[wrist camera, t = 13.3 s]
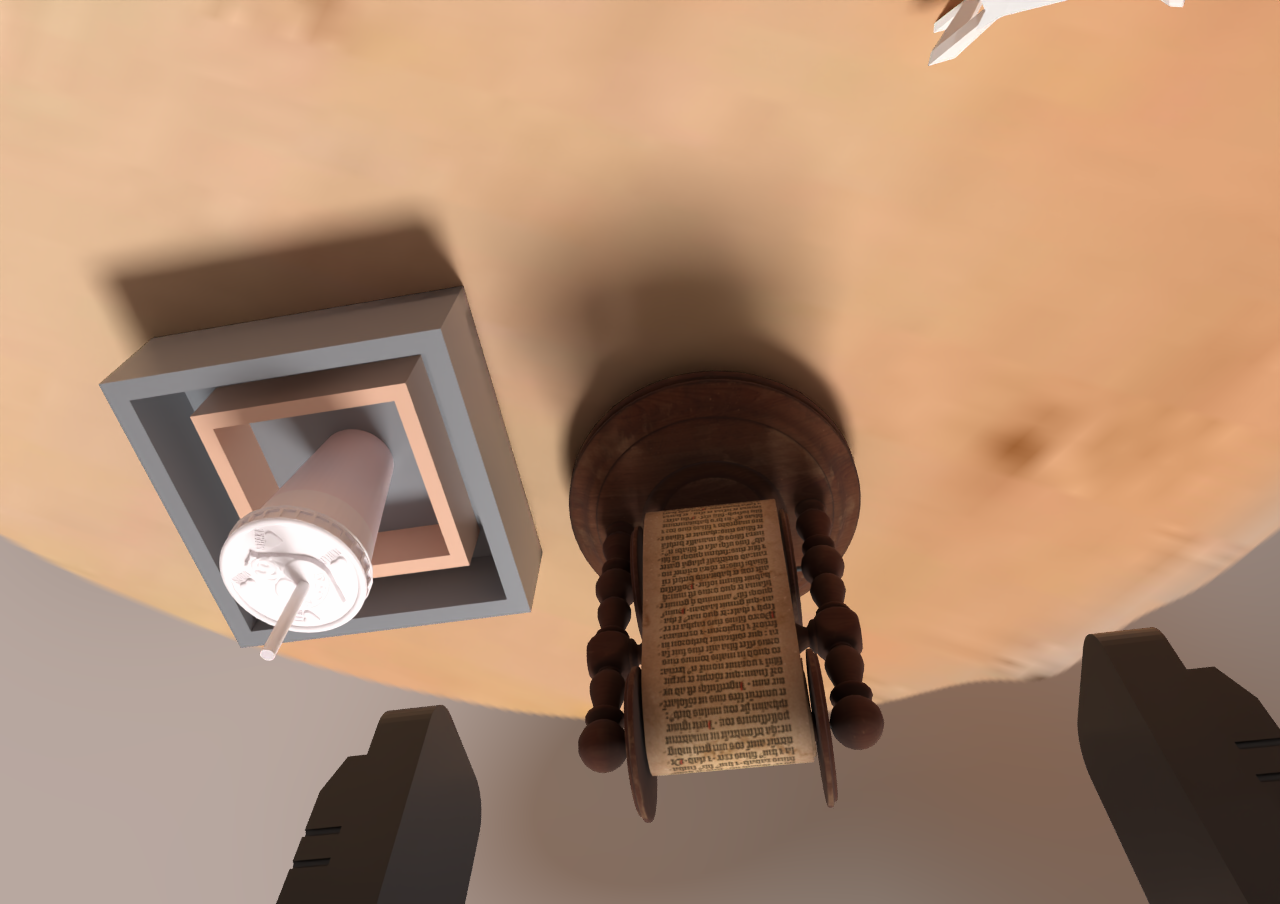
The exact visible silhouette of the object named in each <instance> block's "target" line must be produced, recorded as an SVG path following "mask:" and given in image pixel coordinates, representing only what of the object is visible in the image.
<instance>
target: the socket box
mask: <svg viewBox="0 0 1280 904" xmlns="http://www.w3.org/2000/svg"><path fill="white" fill-rule="evenodd" d="M99 386H100V388H101V390H102V392H103V393H104V395H105V397H106V399H107V401H108V403H109V404H110V406H111V408H112V410H113V412H114V414H115V416H116V417H117V419H118V421H119V423H120V425H121V427H122V429H123V430H124V432H125V434H126V436H127V438H128V440H129V442H130V443H131V445H132V447H133V449H134V451H135V453H136V455H137V456H138V458H139V460H140V462H141V464H142V466H143V467H144V469H145V471H146V473H147V475H148V477H149V479H150V480H151V482H152V484H153V486H154V488H155V490H156V492H157V493H158V495H159V497H160V499H161V501H162V503H163V505H164V506H165V508H166V510H167V512H168V514H169V516H170V518H171V519H172V521H173V523H174V525H175V527H176V529H177V530H178V532H179V534H180V536H181V538H182V540H183V542H184V543H185V545H186V547H187V549H188V551H189V553H190V555H191V556H192V558H193V560H194V562H195V564H196V566H197V568H198V569H199V571H200V573H201V575H202V577H203V579H204V581H205V582H206V584H207V586H208V588H209V590H210V592H211V593H212V595H213V597H214V599H215V601H216V603H217V605H218V606H219V608H220V610H221V612H222V614H223V616H224V618H225V619H226V621H227V623H228V625H229V627H230V629H231V631H232V632H233V634H234V636H235V638H236V640H237V642H238V644H239V645H240V647H241V648H243V647H252V646H260V645H265V643H266V641H267V640H268V638H269V636H270V634H271V632H272V630H273V628H274V627H275V626H272V625H270V624H267V623H266V622H264V621H262V620H260V619H258V618H256V617H255V616H253V615H252V614H250V613H249V612H248V611H246V610H245V609H244V608H243V607H242V606H240V605H239V604H238V603H237V602H236V601H235V599H234V598H233V597H232V596H231V594H230V593H229V591H228V590H227V588H226V586H225V584H224V582H223V579H222V576H221V572H220V564H219V561H220V554H221V550H222V547H223V545H224V543H225V541H226V540H227V538H228V535H229V533H230V531H231V530H232V529H233V527H234V526H235V524H236V523H237V522H238V521H239V520H240V519H242V518H243V517H244V516H246V515H247V514H249V513H250V512H252V511H255V510H258V509H261V507H262V506H263V505H264V504H265V503H266V502H267V501H268V500H270V498H271V497H272V496H273V495H274V494H275V493H276V492H277V491H278V490H279V489H280V488H281V487H282V486H283V485H284V484H285V483H286V482H287V481H288V480H289V479H290V478H291V477H292V476H293V475H294V474H295V473H296V471H297V470H298V469H299V468H300V467H301V466H302V465H303V464H304V463H305V462H306V461H307V460H308V459H309V458H310V457H311V456H312V455H313V454H314V453H315V452H316V451H317V450H318V449H319V448H320V447H321V445H322V444H323V443H324V442H325V441H326V440H327V439H328V438H329V437H330V436H332V435H333V434H334V433H336V432H339V431H342V430H347V429H357V430H362V431H366V432H368V433H371V434H373V435H375V436H376V437H378V438H379V439H380V440H381V441H383V442H384V443H385V445H386V446H387V447H388V449H389V450H390V452H391V454H392V457H393V462H394V468H393V473H392V477H391V481H390V485H389V489H388V493H387V497H386V501H385V506H384V510H383V514H382V518H381V522H380V526H379V530H378V534H377V538H376V542H375V547H374V551H373V556H372V560H371V564H372V567H373V584H372V586H371V589H370V592H369V595H368V597H367V598H366V599H365V601H364V603H363V605H362V607H361V609H360V610H359V612H358V613H357V614H356V615H355V616H354V617H353V618H352V619H351V620H350V621H348V622H347V623H345V624H343V625H341V626H339V627H337V628H334V629H331V630H327V631H322V632H311V633H308V632H295V631H289V630H288V632H287V634H286V636H285V638H284V640H283V642H282V643H285V642H293V641H301V640H309V639H317V638H325V637H333V636H341V635H349V634H357V633H366V632H374V631H382V630H390V629H398V628H406V627H414V626H422V625H430V624H438V623H446V622H455V621H463V620H471V619H479V618H487V617H495V616H503V615H511V614H519V613H527V612H531V609H532V604H533V598H534V593H535V588H536V583H537V578H538V573H539V568H540V563H541V558H542V549H541V546H540V543H539V539H538V536H537V533H536V529H535V526H534V522H533V519H532V516H531V512H530V509H529V506H528V502H527V499H526V496H525V492H524V489H523V486H522V482H521V479H520V475H519V472H518V469H517V465H516V462H515V459H514V455H513V452H512V449H511V445H510V442H509V439H508V435H507V432H506V428H505V425H504V422H503V418H502V415H501V412H500V408H499V405H498V402H497V398H496V395H495V391H494V388H493V385H492V381H491V378H490V375H489V371H488V368H487V365H486V361H485V358H484V355H483V351H482V348H481V344H480V341H479V338H478V334H477V331H476V328H475V324H474V321H473V318H472V314H471V311H470V308H469V304H468V301H467V297H466V294H465V291H464V287H463V286H459V287H453V288H447V289H441V290H435V291H429V292H423V293H417V294H411V295H405V296H400V297H394V298H388V299H382V300H376V301H370V302H364V303H358V304H352V305H346V306H340V307H334V308H328V309H322V310H316V311H311V312H305V313H299V314H293V315H287V316H281V317H275V318H269V319H263V320H257V321H251V322H245V323H239V324H233V325H227V326H222V327H216V328H210V329H204V330H198V331H192V332H186V333H180V334H174V335H168V336H162V337H156V338H152V339H150V340H149V341H148V342H147V343H146V344H145V345H144V346H142V347H141V348H140V349H139V350H138V351H137V352H135V353H134V354H133V355H132V356H131V357H130V358H129V359H127V360H126V361H125V362H124V363H123V364H122V365H120V366H119V367H118V368H117V369H116V370H115V371H114V372H112V373H111V374H110V375H109V376H108V377H107V378H105V379H104V380H103V381H102V382H101V383H100V384H99Z"/></svg>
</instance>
